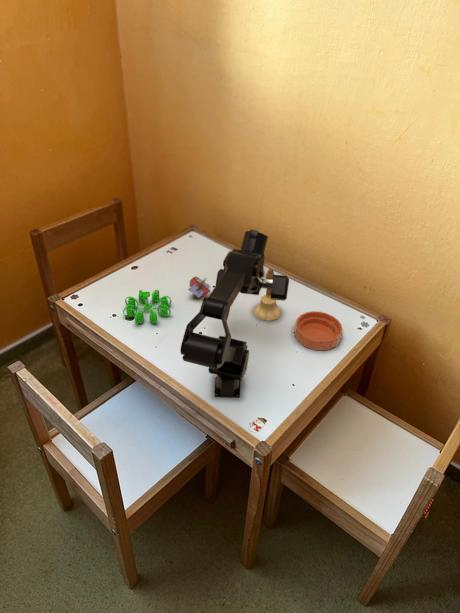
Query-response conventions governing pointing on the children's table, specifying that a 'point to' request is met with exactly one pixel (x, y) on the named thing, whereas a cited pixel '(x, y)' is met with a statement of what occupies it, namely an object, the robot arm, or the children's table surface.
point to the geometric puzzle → (199, 287)
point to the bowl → (318, 330)
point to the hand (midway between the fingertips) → (255, 291)
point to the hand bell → (267, 304)
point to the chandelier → (147, 306)
